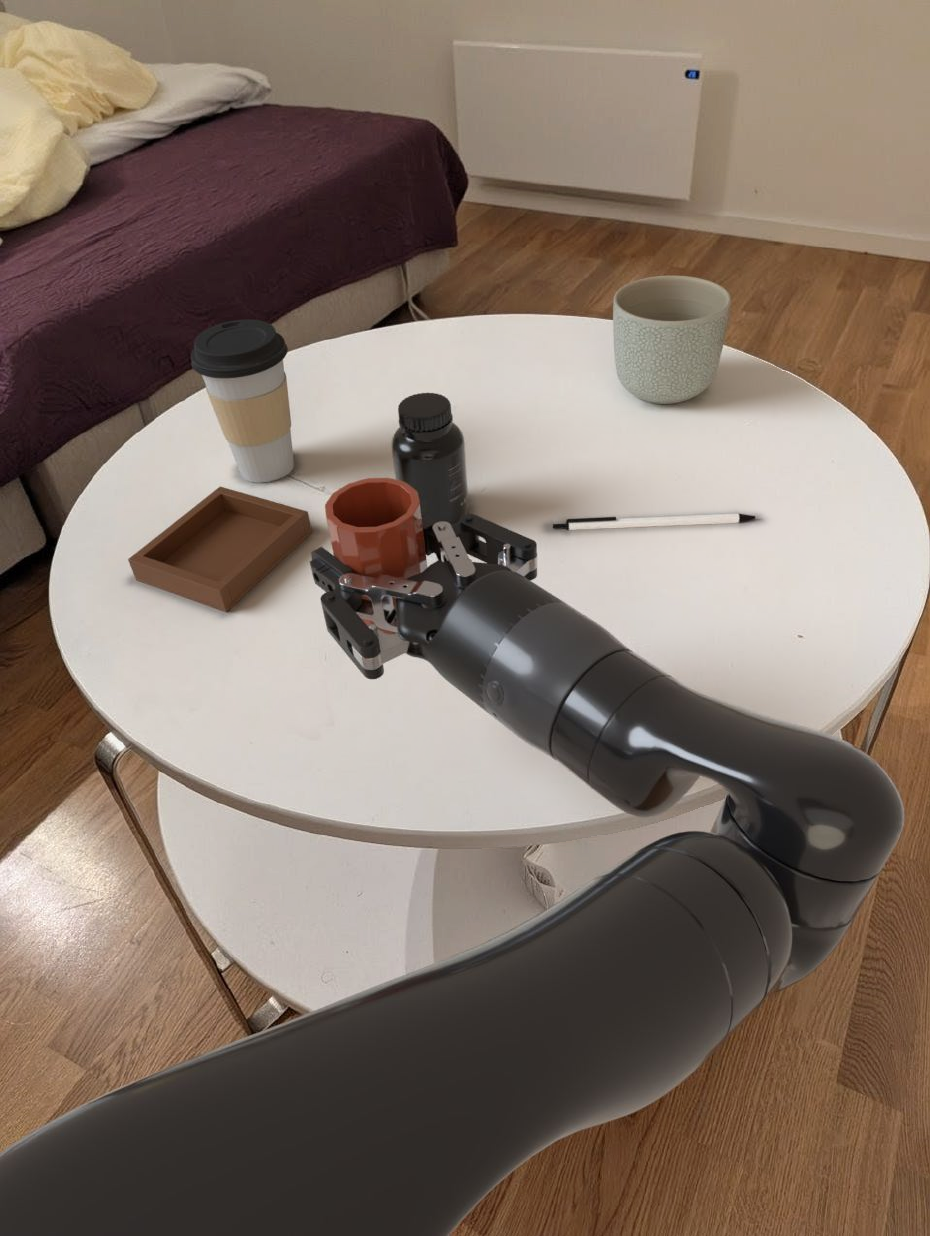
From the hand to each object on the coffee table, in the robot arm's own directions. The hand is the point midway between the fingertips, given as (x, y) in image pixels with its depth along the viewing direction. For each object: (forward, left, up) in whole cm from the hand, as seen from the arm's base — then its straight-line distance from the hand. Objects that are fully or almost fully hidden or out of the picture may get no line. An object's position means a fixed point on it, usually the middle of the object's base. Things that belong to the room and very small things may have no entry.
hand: (358, 538), depth 61 cm
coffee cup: (+24, +31, -16) cm, 42 cm away
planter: (+56, -2, -16) cm, 58 cm away
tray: (+10, +25, -16) cm, 31 cm away
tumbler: (-1, -2, -6) cm, 6 cm away
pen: (+31, -10, -17) cm, 36 cm away
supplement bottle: (+24, +10, -16) cm, 31 cm away
